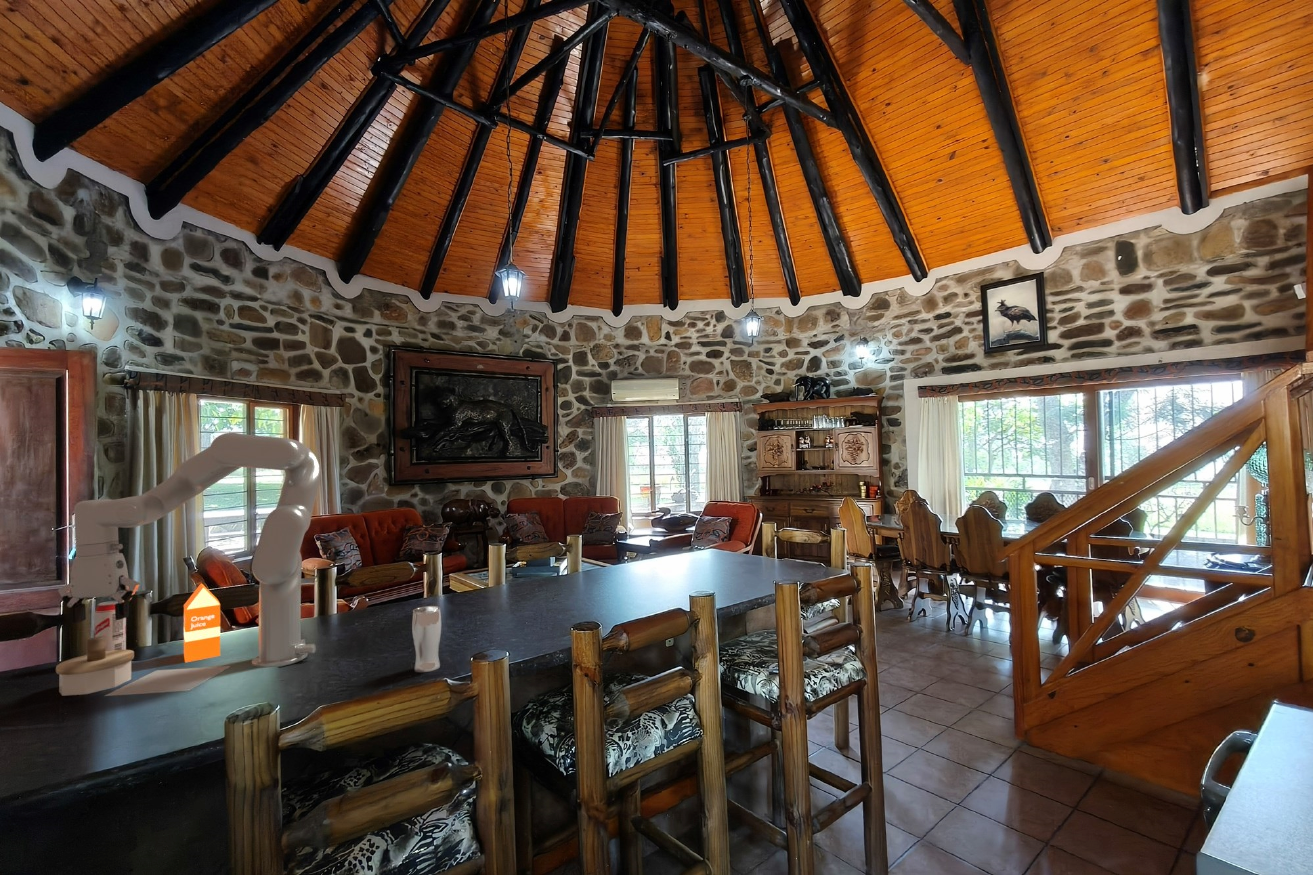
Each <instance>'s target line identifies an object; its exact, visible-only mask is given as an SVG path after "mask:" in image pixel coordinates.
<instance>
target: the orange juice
mask: <svg viewBox="0 0 1313 875" xmlns="http://www.w3.org/2000/svg"><path fill="white" fill-rule="evenodd" d="M219 656H220V657H221V603H220V601H219V599H218V598H217V596H215V595H214V594H213V593H212V592H211V591H210V590H209V589H208V588H207V587H206V586H205V584H203V583H202V582H201V583H200V584H199V585H198V587H197V588H196V589H195V590H194V591H193V593H192V594H191V595H190V597H189V598H188V599H187V601H186V602H185V603H184V604H183V658H184V663H189V662H194V661H200V660H201V661H202V660H204V659H205V660H206V659H210V658H214V657H219Z"/></svg>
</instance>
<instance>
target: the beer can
mask: <svg viewBox="0 0 1313 875" xmlns="http://www.w3.org/2000/svg"><path fill="white" fill-rule="evenodd" d="M117 603H118V602H117V601H116V600H109V601H104V602H100V603H98V604H97V607H96V609H95V611H94V637H101V636H105V637H106V651H112V650H127V617H126V618H123V619H120V620H116V619H115V604H117Z"/></svg>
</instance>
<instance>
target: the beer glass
mask: <svg viewBox="0 0 1313 875" xmlns="http://www.w3.org/2000/svg"><path fill="white" fill-rule="evenodd" d="M411 626H412V627H411V629H412V630H411V631H412V632H411V633H412V638H413V644H414V645H413V646H414V649H415V662H414V663H415V664H414V672H416V673H429V672H434V671H436V670H438V669H439V668H440V666H441V663H440V659H439V648H440V647H439V646H440V641H441V636H442V635H441V633H442V614H441V607H440V606H438V605H428V606H425V605H424V606H421V607H420V606H419V607H416V608H415V609H413V610H412V624H411Z"/></svg>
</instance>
